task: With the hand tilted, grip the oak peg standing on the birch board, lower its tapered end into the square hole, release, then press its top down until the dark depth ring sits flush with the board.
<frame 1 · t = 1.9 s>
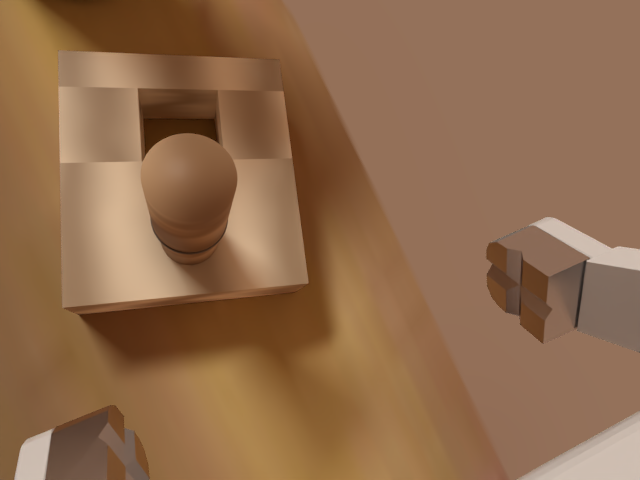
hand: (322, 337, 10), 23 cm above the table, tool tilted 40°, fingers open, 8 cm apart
peg: (189, 237, 28), point 4 cm above the table, touching board
board: (185, 189, 33), on the table
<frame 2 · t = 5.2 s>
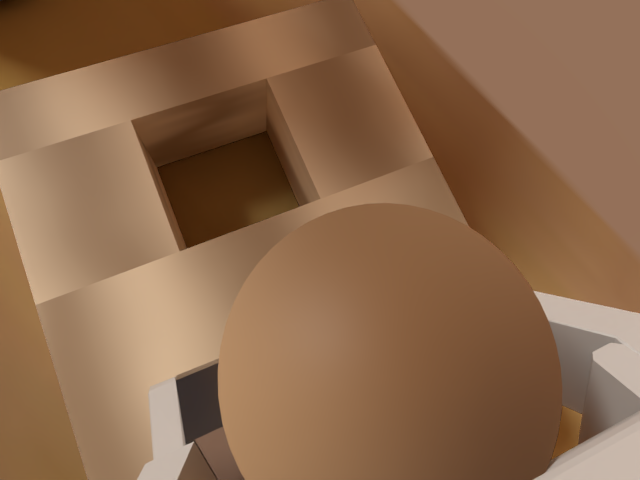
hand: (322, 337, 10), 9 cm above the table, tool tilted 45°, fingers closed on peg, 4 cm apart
peg: (310, 366, 15), point 4 cm above the table, touching board, gripper
board: (259, 262, 19), on the table
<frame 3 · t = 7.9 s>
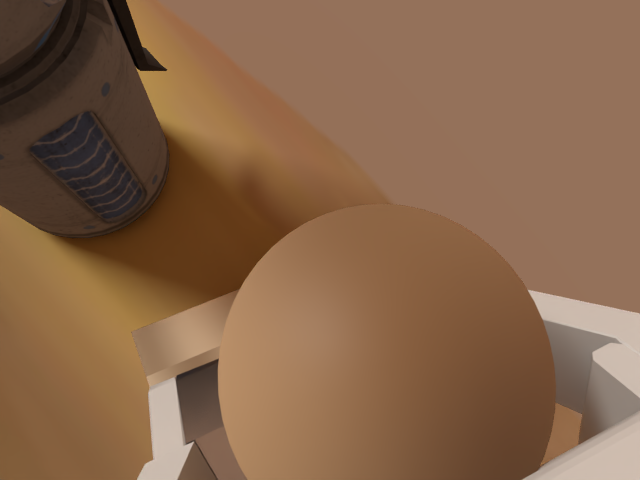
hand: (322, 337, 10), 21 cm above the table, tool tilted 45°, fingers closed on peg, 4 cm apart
peg: (309, 365, 15), point 15 cm above the table, touching gripper
board: (303, 413, 29), on the table
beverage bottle: (106, 163, 32), on the table
when the fingers open (8 cm above the table, at t = 10.8 s): peg drops 3 cm, resting in board.
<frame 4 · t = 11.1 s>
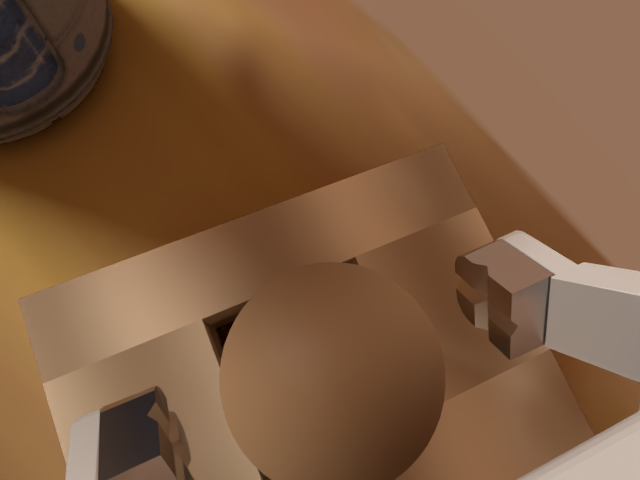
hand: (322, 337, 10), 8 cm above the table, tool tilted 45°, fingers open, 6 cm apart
peg: (305, 364, 18), resting in board
board: (335, 443, 17), on the table
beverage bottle: (16, 41, 20), on the table
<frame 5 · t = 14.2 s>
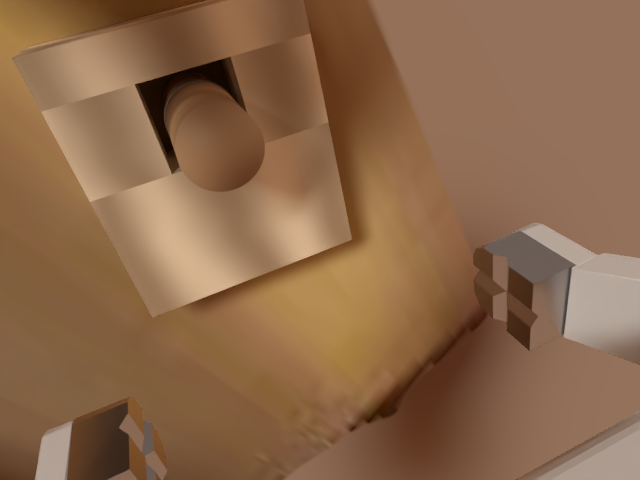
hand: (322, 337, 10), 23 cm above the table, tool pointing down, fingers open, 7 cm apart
peg: (192, 101, 28), resting in board
board: (207, 147, 30), on the table
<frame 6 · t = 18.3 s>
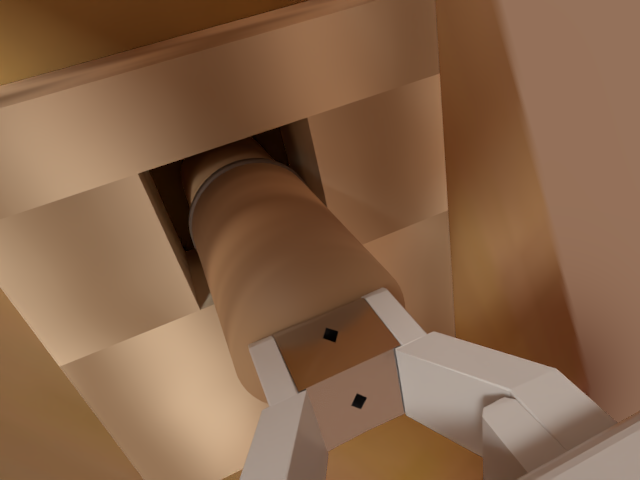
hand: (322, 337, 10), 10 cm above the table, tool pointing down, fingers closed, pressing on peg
peg: (227, 174, 18), resting in board, touching gripper
board: (247, 240, 19), on the table
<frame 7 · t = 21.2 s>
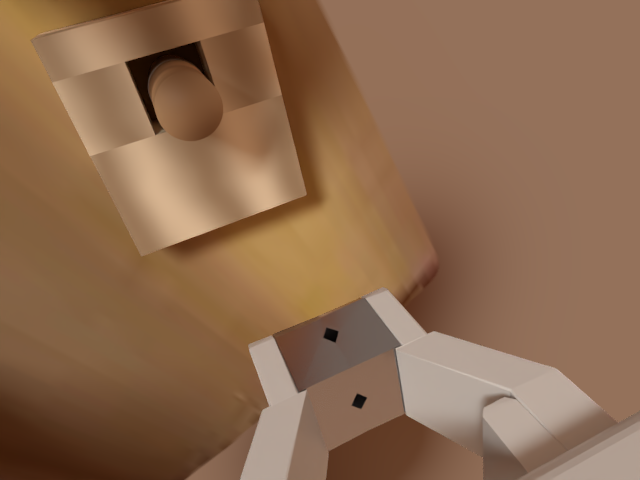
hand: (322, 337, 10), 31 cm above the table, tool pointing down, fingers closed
peg: (172, 78, 35), resting in board
board: (185, 117, 37), on the table
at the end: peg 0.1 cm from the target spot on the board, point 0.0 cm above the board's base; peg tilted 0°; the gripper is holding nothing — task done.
